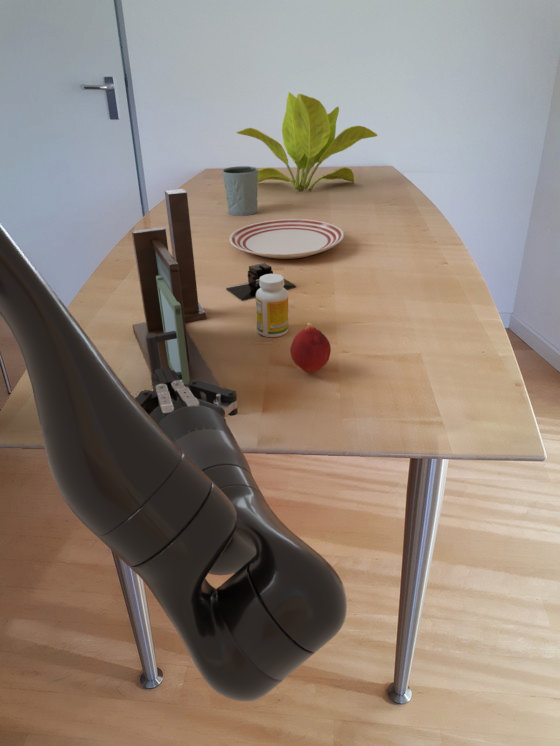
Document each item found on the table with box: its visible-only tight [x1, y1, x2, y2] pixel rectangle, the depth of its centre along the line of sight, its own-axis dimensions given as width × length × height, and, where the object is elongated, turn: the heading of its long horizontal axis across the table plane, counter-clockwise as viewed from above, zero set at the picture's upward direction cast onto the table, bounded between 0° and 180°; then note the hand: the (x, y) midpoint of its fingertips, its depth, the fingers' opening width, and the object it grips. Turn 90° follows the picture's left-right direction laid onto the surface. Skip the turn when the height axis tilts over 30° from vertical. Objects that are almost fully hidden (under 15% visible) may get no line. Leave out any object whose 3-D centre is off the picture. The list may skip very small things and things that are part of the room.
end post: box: [164, 188, 207, 324], centre depth 93 cm, size 5×5×22 cm
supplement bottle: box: [255, 273, 289, 338], centre depth 91 cm, size 5×5×10 cm
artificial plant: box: [236, 91, 378, 192], centre depth 181 cm, size 42×43×30 cm
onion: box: [289, 322, 332, 374], centre depth 79 cm, size 6×6×8 cm
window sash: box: [145, 275, 190, 384], centre depth 72 cm, size 4×11×14 cm, turn 22°
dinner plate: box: [229, 218, 345, 260], centre depth 131 cm, size 27×27×3 cm
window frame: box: [130, 226, 222, 401], centre depth 79 cm, size 8×29×18 cm, turn 22°
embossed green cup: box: [221, 165, 259, 217], centre depth 158 cm, size 10×10×12 cm
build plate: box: [225, 262, 297, 301], centre depth 109 cm, size 12×7×5 cm, turn 121°
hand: (162, 375), depth 63 cm, fingers closed
